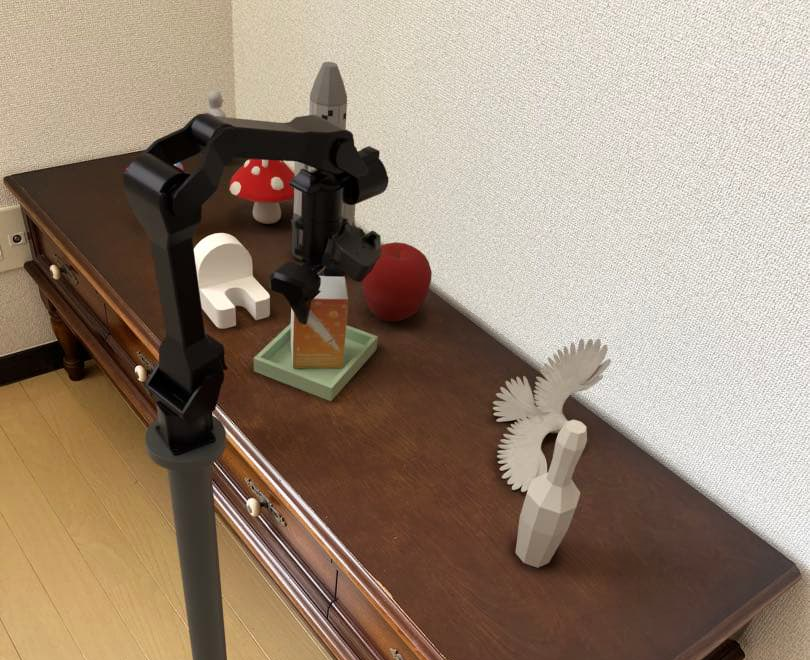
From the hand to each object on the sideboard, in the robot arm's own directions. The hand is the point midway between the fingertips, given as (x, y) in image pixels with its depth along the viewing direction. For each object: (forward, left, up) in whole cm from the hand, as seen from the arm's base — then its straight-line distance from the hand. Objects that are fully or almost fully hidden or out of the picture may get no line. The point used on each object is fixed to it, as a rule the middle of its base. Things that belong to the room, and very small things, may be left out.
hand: (318, 309), depth 124 cm
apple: (+18, +5, -10) cm, 21 cm away
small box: (0, 0, -9) cm, 9 cm away
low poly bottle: (+4, -48, -10) cm, 49 cm away
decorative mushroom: (+14, +43, -10) cm, 46 cm away
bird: (+16, -32, -10) cm, 37 cm away
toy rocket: (+16, +25, -10) cm, 31 cm away
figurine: (+17, +70, -10) cm, 73 cm away
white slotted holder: (-5, +23, -10) cm, 26 cm away
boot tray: (0, 0, -10) cm, 10 cm away
